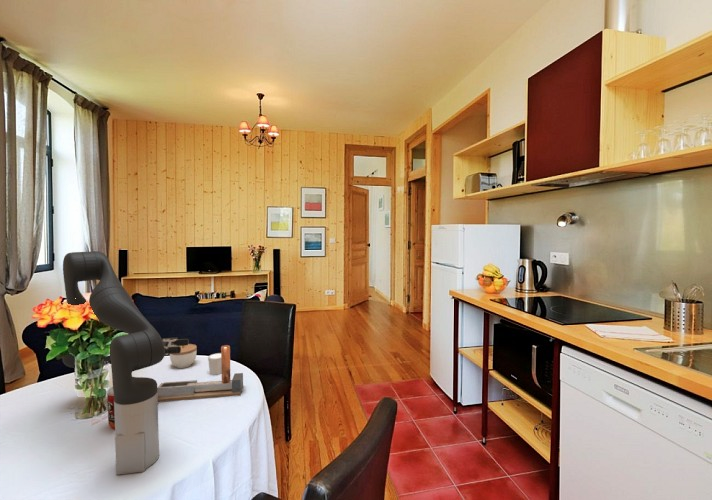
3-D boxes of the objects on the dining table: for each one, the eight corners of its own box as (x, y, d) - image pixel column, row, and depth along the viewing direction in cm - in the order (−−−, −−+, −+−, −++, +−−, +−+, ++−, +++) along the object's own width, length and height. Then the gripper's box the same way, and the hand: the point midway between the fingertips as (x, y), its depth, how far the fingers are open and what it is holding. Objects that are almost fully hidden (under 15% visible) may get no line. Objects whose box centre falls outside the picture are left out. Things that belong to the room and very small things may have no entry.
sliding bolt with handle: (239, 388, 123) (238, 347, 122) (186, 393, 120) (185, 350, 119) (240, 385, 126) (239, 344, 125) (188, 389, 122) (187, 347, 122)
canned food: (103, 425, 102) (101, 390, 101) (131, 413, 109) (130, 379, 109) (117, 432, 99) (116, 396, 98) (145, 419, 106) (144, 385, 105)
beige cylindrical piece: (208, 370, 143) (207, 354, 142) (225, 367, 145) (225, 351, 145) (208, 376, 136) (208, 359, 136) (226, 373, 139) (226, 357, 139)
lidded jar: (202, 361, 152) (201, 341, 152) (187, 371, 142) (186, 349, 141) (180, 360, 154) (179, 339, 153) (163, 369, 143) (163, 347, 143)
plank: (240, 395, 121) (240, 392, 121) (155, 402, 116) (155, 399, 116) (243, 386, 128) (243, 384, 128) (163, 392, 123) (162, 390, 123)
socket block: (240, 392, 122) (240, 379, 121) (231, 392, 121) (231, 380, 121) (243, 384, 127) (242, 373, 127) (234, 385, 127) (234, 373, 127)
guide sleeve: (193, 394, 119) (193, 385, 119) (157, 397, 117) (156, 388, 117) (197, 388, 124) (197, 380, 124) (162, 391, 122) (161, 382, 121)
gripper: (123, 344, 110) (177, 341, 113) (143, 332, 124) (190, 329, 127) (124, 367, 110) (178, 363, 113) (143, 352, 124) (191, 349, 127)
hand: (184, 345), depth 120 cm, fingers open, 8 cm apart
